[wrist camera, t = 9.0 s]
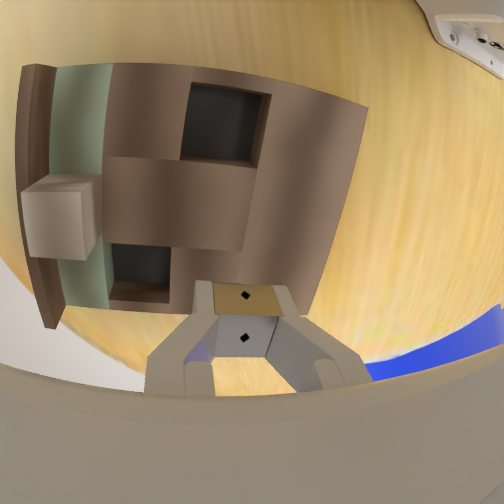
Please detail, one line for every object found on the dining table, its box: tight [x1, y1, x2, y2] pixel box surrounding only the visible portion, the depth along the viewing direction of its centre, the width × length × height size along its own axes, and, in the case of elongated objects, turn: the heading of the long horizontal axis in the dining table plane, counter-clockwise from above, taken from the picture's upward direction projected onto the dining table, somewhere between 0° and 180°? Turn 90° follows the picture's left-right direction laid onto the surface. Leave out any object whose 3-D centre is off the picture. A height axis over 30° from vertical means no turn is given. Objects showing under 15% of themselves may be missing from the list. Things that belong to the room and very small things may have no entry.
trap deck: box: [15, 63, 368, 329], centre depth 18 cm, size 22×18×6 cm
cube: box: [21, 174, 103, 261], centre depth 15 cm, size 4×4×4 cm
